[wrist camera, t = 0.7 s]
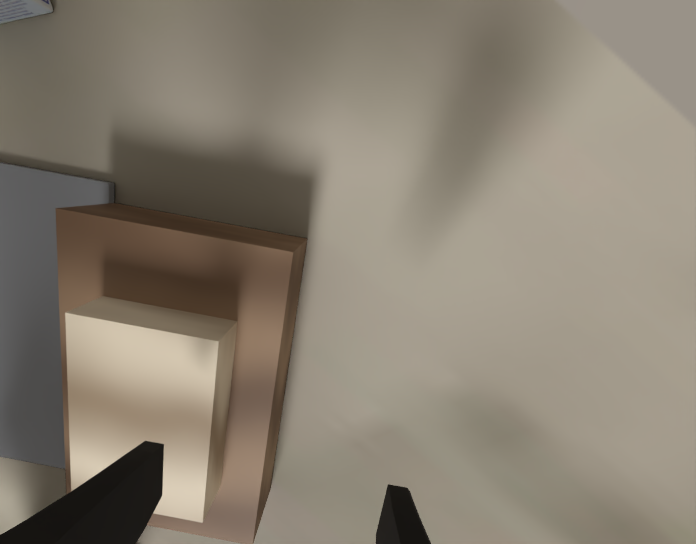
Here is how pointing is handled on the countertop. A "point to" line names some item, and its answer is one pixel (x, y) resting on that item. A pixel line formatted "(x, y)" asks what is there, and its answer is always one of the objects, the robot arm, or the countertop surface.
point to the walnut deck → (206, 299)
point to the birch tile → (150, 395)
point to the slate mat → (34, 308)
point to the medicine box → (23, 9)
